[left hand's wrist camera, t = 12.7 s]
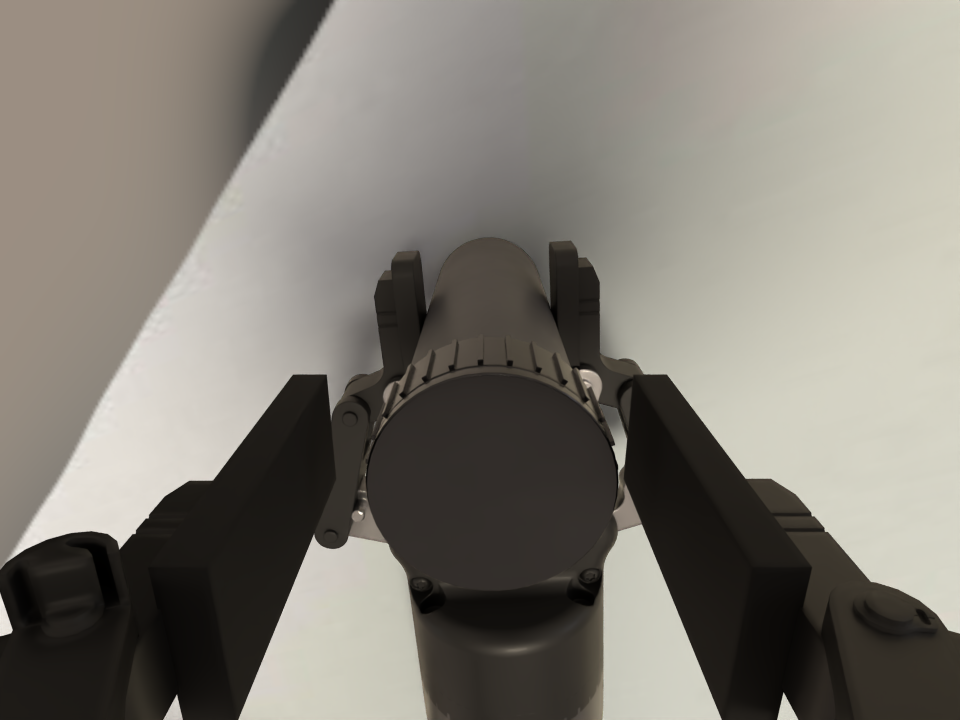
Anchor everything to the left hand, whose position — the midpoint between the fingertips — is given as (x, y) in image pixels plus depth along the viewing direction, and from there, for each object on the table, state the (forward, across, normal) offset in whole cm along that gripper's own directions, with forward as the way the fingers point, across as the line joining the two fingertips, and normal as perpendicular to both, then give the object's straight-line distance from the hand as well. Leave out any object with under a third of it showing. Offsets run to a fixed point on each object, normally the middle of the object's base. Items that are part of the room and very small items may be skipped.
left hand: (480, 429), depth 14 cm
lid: (-2, 0, 0) cm, 2 cm away
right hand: (+7, 0, -3) cm, 7 cm away
